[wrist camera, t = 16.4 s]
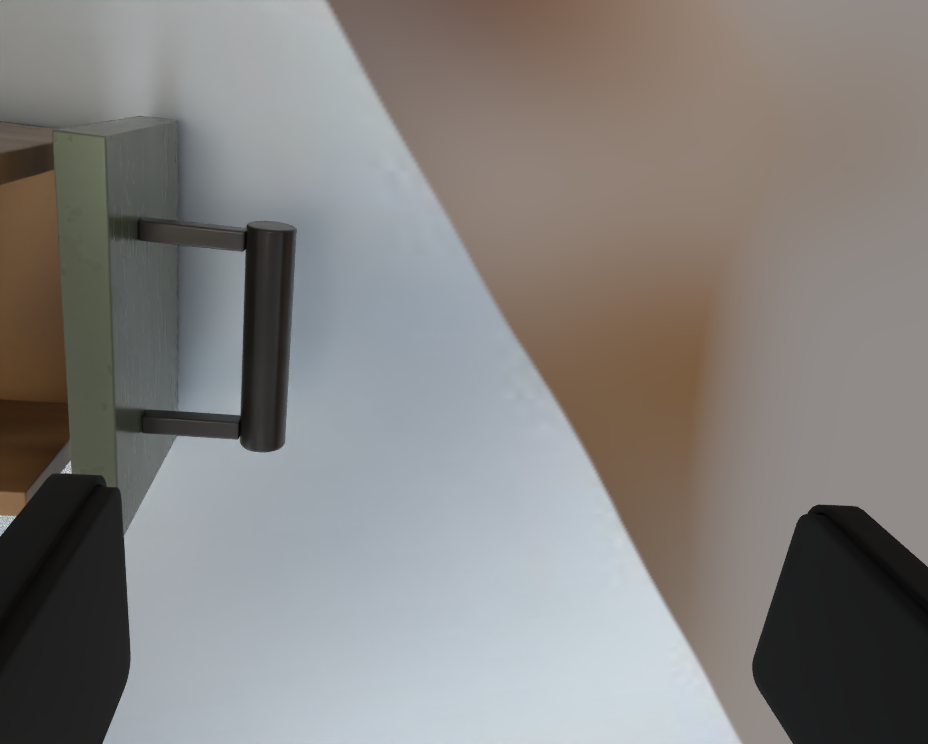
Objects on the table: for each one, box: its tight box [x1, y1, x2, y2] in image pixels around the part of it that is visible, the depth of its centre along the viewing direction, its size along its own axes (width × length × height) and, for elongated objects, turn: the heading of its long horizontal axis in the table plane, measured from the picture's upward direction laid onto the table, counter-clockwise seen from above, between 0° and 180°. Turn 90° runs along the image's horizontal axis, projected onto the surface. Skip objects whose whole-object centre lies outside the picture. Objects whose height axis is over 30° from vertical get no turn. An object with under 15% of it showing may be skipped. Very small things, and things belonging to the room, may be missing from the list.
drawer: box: [0, 116, 297, 535], centre depth 22 cm, size 17×11×7 cm
